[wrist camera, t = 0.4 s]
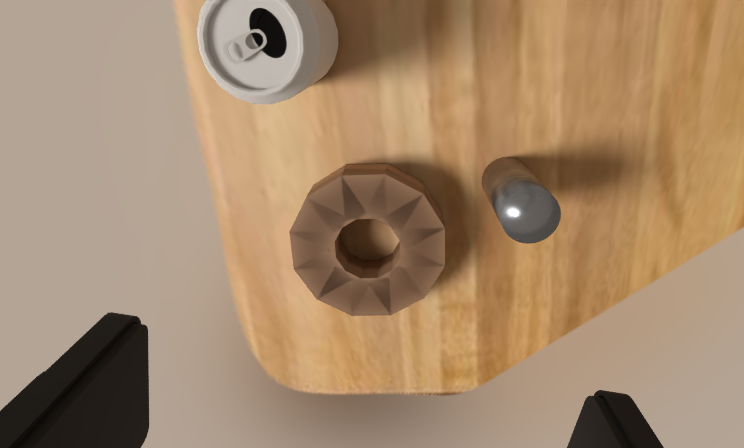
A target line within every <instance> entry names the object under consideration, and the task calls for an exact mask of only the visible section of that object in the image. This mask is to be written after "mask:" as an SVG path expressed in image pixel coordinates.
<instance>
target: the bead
mask: <svg viewBox="0 0 744 448" xmlns="http://www.w3.org/2000/svg"><path fill="white" fill-rule="evenodd" d="M356 219H376V220H378V221H380V222H382V223H384V224H386V225H388V226H390V227H391V228H392V230H393V231H394V233H395V234H396V236H397V237H398V238H399V240H400V242H399V243H398V245H397V247H396V248H395V250H394V252H393V253H392V254H390V255H388V256H386V257H385V258H383V259H381V260H375V261H363V260H361V259H359V258H357V257H355V256H353V255H351V254H349V252H348V251H347V250H346V248H345V247H344V245H343V244H342V243H341V240H340V231H341V229H342V228H343V227H344V226H346V225H348V224H349V223H351V222H353V221H355V220H356ZM290 240H291V249H292V257H293V266H294V270H295V271H296V273H297V274H298V275H299V276H300V278H301V279H302V280H303V282H304V283H305V284H306V286H307V287H308V288H309V290H310V291H311V292H312V293H313V295H314V296H315V297H316V299H317V300H320V301H322V302H324V303H326V304H328V305H330V306H332V307H334V308H337V309H339V310H341V311H343V312H345V313H347V314H349V315H351V316H372V315H392V314H394V313H396V312H398V311H400V310H402V309H404V308H406V307H408V306H410V305H411V304H413V303H415V302H417V301H419V300H421V299H423V298H425V296H426V295H427V293H428V292H429V290H430V289H431V287H432V285H433V284H434V282H435V281H436V279H437V278H438V276H439V275H440V273H441V271H442V270H443V268H444V267H445V226H444V221H443V216H442V213H441V211H440V210H439V208H438V207H437V205H436V203H435V202H434V200H433V199H432V197H431V195H430V194H429V192H428V191H427V189H426V187H425V186H424V184H423V183H422V181H420V180H418V179H416V178H414V177H412V176H410V175H408V174H406V173H404V172H402V171H400V170H399V169H397V168H395V167H393V166H391V165H389V164H387V163H377V164H347V165H345V166H343V167H341V168H340V169H338V170H337V171H335V172H333V173H332V174H330V175H329V176H327V177H325V178H324V179H322V180H321V181H319V182H317V183H316V184H314V185H313V187H312V188H311V190H310V192H309V194H308V196H307V197H306V199H305V201H304V203H303V206H302V208H301V210H300V212H299V214H298V216H297V218H296V220H295V222H294V224H293V226H292V228H291V230H290Z"/></svg>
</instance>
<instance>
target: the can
mask: <svg viewBox="0 0 744 448" xmlns="http://www.w3.org/2000/svg"><path fill="white" fill-rule="evenodd" d="M197 37H198V45H199V52H200V54H201V57H202V59H203V61H204V64H205V66H206V69H207V71H208V72H209V73H210V75H211V76H212V77H213V78H214V80H215V81H216V82H217V83H218V85H219V86H220V87H221V88H223V89H224V90H225V91H227V92H228V93H230V94H231V95H233V96H234V97H235V98H237V99H240V100H243V101H246V102H249V103H252V104H275V103H278V102H281V101H284V100H287V99H290V98H292V97H293V96H295V95H296V94H298V93H300V92H301V91H303V90H305V89H306V88H308V87H309V86H311V85H313V84H314V83H316V82H317V81H318V80H319V79H321V78H322V77H323V76H325V75H326V74H327V72H328V71H329V69H330V68H331V66H332V65H333V63H334V61H335V58H336V54H337V50H338V47H339V45H338V29H337V26H336V23H335V20H334V17H333V14H332V13H331V11H330V10H329V8H328V7H327V6H326V4H325V3H324V1H323V0H206V1H205V3H204V5H203V7H202V9H201V11H200V16H199V21H198V27H197Z"/></svg>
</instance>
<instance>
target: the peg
mask: <svg viewBox="0 0 744 448" xmlns="http://www.w3.org/2000/svg"><path fill="white" fill-rule="evenodd" d="M482 186H483V189H484V191H485V193H486V195H487V197H488V199H489V201H490V203H491V205H492V207H493V209H494V211H495V213H496V215H497V217H498V219H499V221H500V223H501V225H502V226H503V228H504V230H505V232H506V233H507V235H508V236H509V237H511V238H512V239H514V240H515V241H518V242H521V243H536V242H539V241H542V240H544V239H546V238H547V237H549V236H550V235H551V234H552V233H553V232H554V231H555V229H556V228H557V226H558V224H559V221H560V217H561V211H560V206H559V204H558V202H557V200H556V199H555V198H554V197H553V196H552V195H551V193H550V192H549V191H548V190H547V189H546V188H545V187H544V186H543V185H542V184H541V182H540V181H539V180H538V179H537V178H536V177H535V176H534V175H533V174H532V173H531V171H530V170H529V169H528V168H527V167H526V166H525V165H524V164H523V163H522V162H521V161H519V160H518V159H515V158H511V157H503V158H499V159H497V160H495V161H493V162H492V163H491V164H489V165H488V167H487V168H486V169H485V171H484V173H483V176H482Z"/></svg>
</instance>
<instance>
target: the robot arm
mask: <svg viewBox="0 0 744 448" xmlns="http://www.w3.org/2000/svg"><path fill="white" fill-rule="evenodd" d="M148 377H149V376H148V329H147V326H146V325H142V324H141V321H140V319H139V318H138V317H137V316H131V315H124V314H118V313H108V314H106V315H105V316H104V317H103V318H102V319H101V320H99V321H98V322H97V323H96V324H95V325H94V326H93V327H92V328H91V329H90V330H89V331H88V332H87V333H86V334H85V335H84V336H82V338H80V339H79V340H78V341H77V342H76V343H75V344H74V345H73V346H72V347H71V348H70V349H69V350H68V351H67V352H66V353H64V354H63V355H62V356H61V357H60V358H59V359H58V360H57V361H56V362H55V363H54V364H53V365H52V366H51V367H50V368H49V369H47V370H46V371H45V372H43V373H41V374H40V375H39V376H37V377H36V378H35V379H34V380H33V381H32V382H31V383H30V384H29V385H28V386H26V388H24V389H23V390H22V391H21V392H20V393H19V394H18V395H17V396H16V397H15V398H14V399H13V400H12V401H11V402H9V403H8V405H6V406H5V407H4V408H3V409H2V410H1V411H0V448H141V446H142V445H143V443H144V441H145V438H146V436H147V433H148V429H149V379H148ZM567 448H663V446H662V444H661V443H660V441H659V440H658V438H657V437H656V435H655V434H654V432H653V430H652V429H651V427H650V426H649V424H648V423H647V421H646V420H645V418H644V417H643V415H642V413H641V412H640V410H639V409H638V407H637V406H636V404H635V403H634V401H633V400H632V398H631V397H630V396H629V395H627V394H622V393H616V392H609V391H602V390H599V391H597V392H596V393H595V394H594V396H588V397H587V398H586V400H585V402H584V405H583V407H582V410H581V413H580V415H579V418H578V420H577V423H576V426H575V428H574V431H573V434H572V436H571V439H570V441H569V444H568V447H567Z"/></svg>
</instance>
